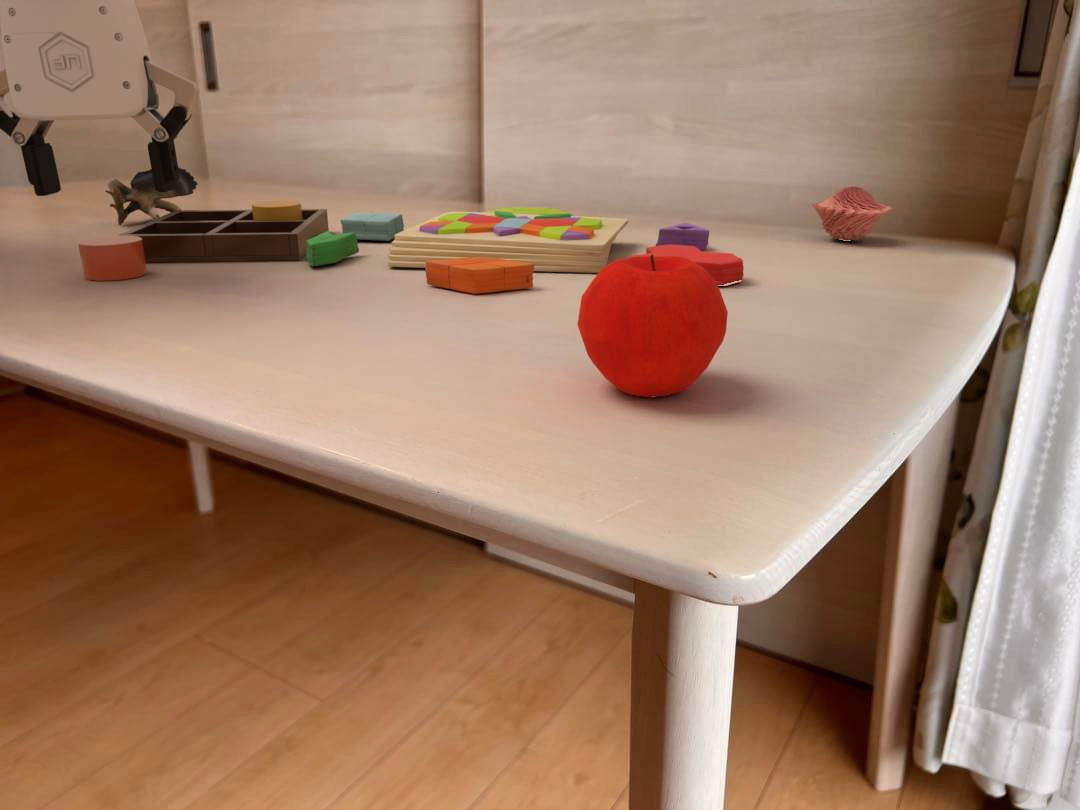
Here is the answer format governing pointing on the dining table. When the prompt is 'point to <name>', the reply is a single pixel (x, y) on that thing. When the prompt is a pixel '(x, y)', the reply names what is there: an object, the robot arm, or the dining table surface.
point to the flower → (850, 213)
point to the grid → (227, 236)
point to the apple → (652, 323)
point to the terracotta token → (112, 258)
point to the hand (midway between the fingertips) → (107, 192)
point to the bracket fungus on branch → (148, 194)
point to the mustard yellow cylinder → (277, 210)
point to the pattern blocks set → (509, 246)
